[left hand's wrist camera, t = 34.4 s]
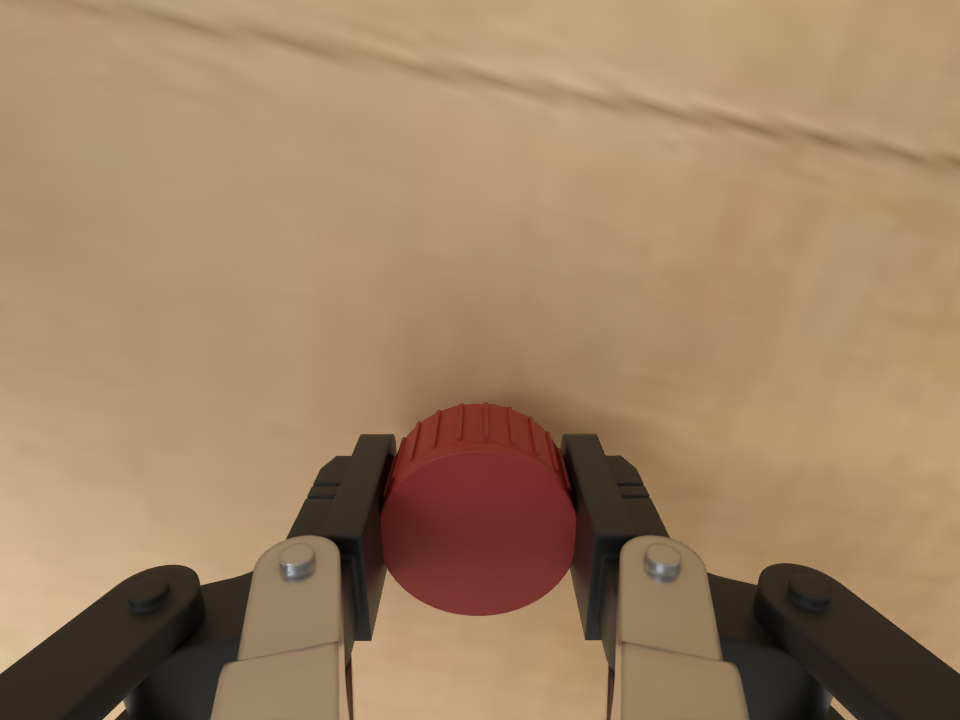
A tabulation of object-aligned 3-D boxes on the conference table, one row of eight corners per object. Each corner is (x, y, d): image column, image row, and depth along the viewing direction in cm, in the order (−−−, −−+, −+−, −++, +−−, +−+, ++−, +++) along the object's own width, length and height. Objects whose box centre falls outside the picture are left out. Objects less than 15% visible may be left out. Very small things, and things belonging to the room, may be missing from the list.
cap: (566, 396, 12) (583, 443, 10) (565, 546, 13) (580, 614, 11) (380, 404, 12) (361, 453, 10) (400, 553, 13) (386, 622, 11)
